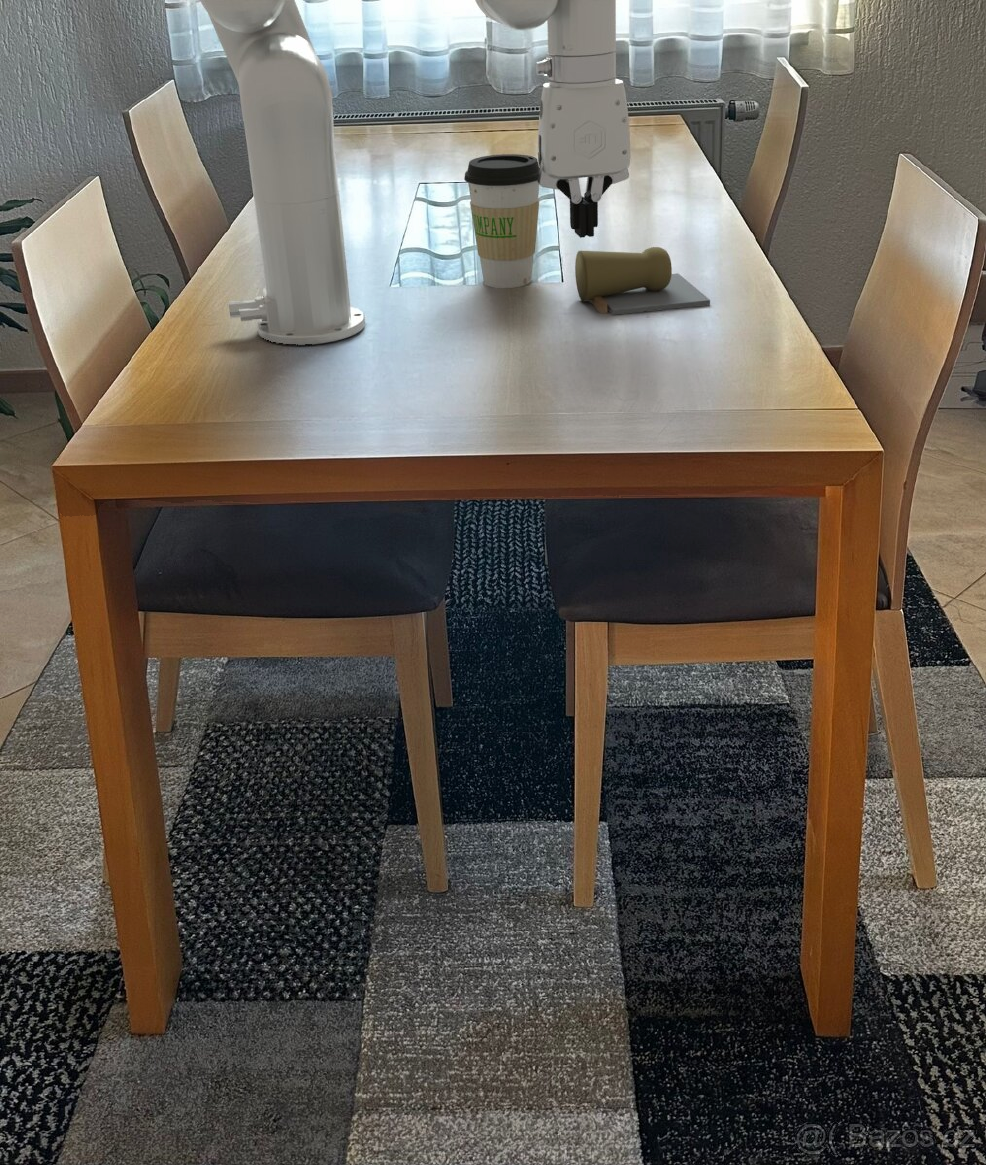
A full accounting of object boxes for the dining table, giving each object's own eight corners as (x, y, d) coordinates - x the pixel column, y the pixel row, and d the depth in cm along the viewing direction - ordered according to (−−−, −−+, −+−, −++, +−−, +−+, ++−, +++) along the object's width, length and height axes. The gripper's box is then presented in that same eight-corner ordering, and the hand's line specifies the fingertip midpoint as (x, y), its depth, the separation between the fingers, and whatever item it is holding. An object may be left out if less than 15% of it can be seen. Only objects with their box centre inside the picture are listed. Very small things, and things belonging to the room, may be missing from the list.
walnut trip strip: (600, 313, 152) (600, 303, 152) (579, 290, 161) (579, 280, 160) (607, 312, 153) (607, 302, 152) (585, 289, 161) (585, 280, 161)
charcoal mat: (612, 314, 152) (612, 309, 152) (586, 286, 162) (586, 282, 162) (709, 304, 154) (710, 300, 153) (678, 277, 164) (678, 273, 164)
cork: (576, 299, 159) (662, 291, 161) (589, 303, 153) (677, 294, 155) (573, 249, 157) (660, 241, 159) (586, 251, 151) (675, 242, 153)
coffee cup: (460, 275, 169) (453, 157, 162) (530, 266, 171) (527, 150, 164) (482, 296, 161) (476, 172, 153) (556, 286, 163) (554, 164, 156)
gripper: (523, 79, 139) (529, 248, 148) (656, 68, 142) (654, 236, 151) (509, 70, 146) (516, 232, 155) (636, 60, 148) (635, 221, 157)
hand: (584, 233), depth 153 cm, fingers closed
